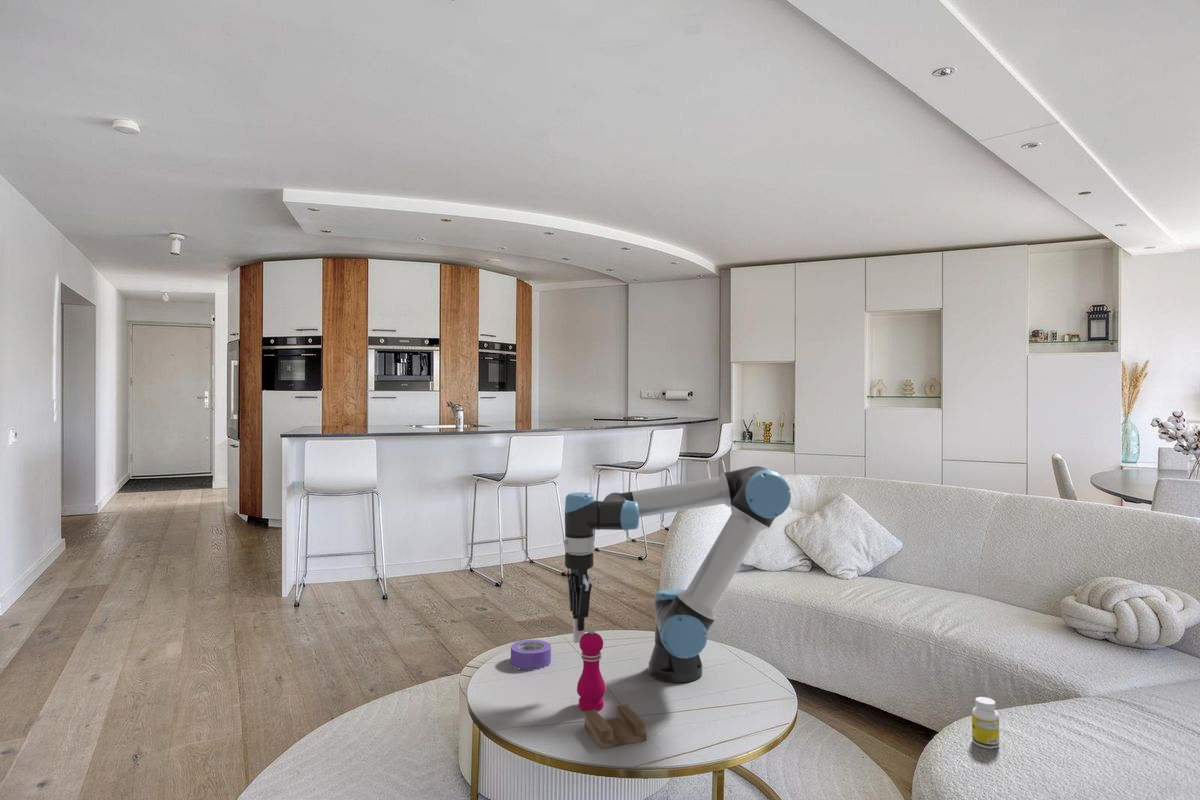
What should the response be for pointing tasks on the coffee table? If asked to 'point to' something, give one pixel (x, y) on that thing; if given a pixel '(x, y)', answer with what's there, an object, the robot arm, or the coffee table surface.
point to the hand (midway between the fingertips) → (578, 641)
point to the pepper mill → (591, 672)
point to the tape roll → (530, 654)
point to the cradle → (615, 727)
